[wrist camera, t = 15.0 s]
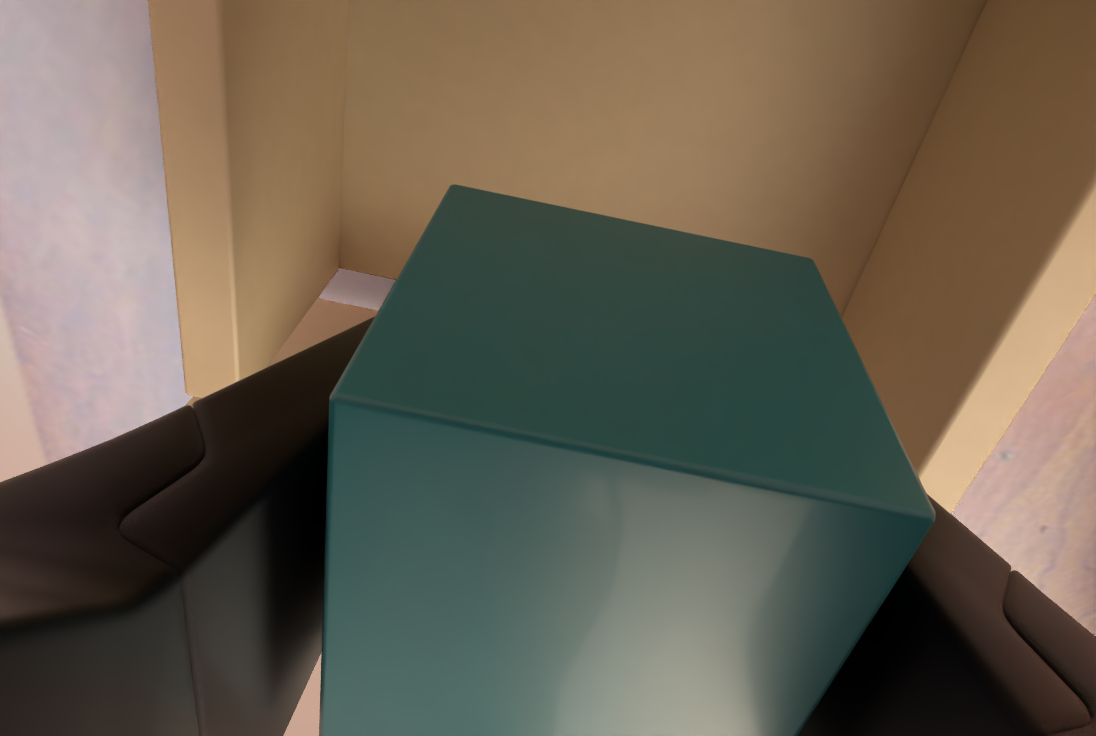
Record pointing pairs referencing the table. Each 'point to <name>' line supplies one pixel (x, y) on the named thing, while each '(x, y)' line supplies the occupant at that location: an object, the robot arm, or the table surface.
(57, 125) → the table surface
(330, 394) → the robot arm
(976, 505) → the table surface
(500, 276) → the block
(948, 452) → the drawer
